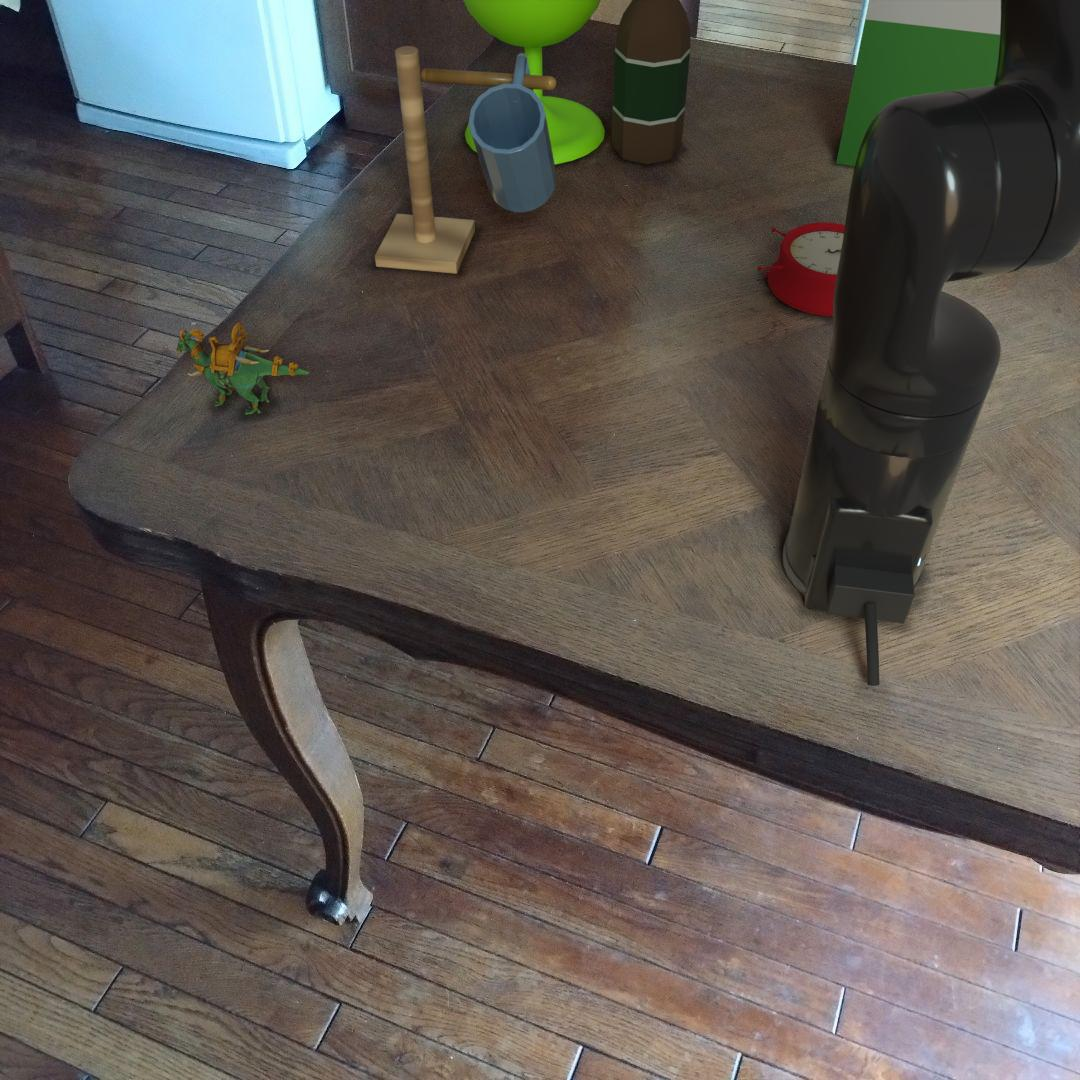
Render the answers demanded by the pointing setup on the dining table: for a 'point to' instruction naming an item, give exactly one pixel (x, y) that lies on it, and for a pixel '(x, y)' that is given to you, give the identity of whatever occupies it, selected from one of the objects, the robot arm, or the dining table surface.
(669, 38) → the beer bottle
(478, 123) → the mug
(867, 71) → the hardback book
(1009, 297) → the dining table surface
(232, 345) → the figurine
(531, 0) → the wineglass
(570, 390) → the dining table surface
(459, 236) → the mug stand
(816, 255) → the alarm clock
